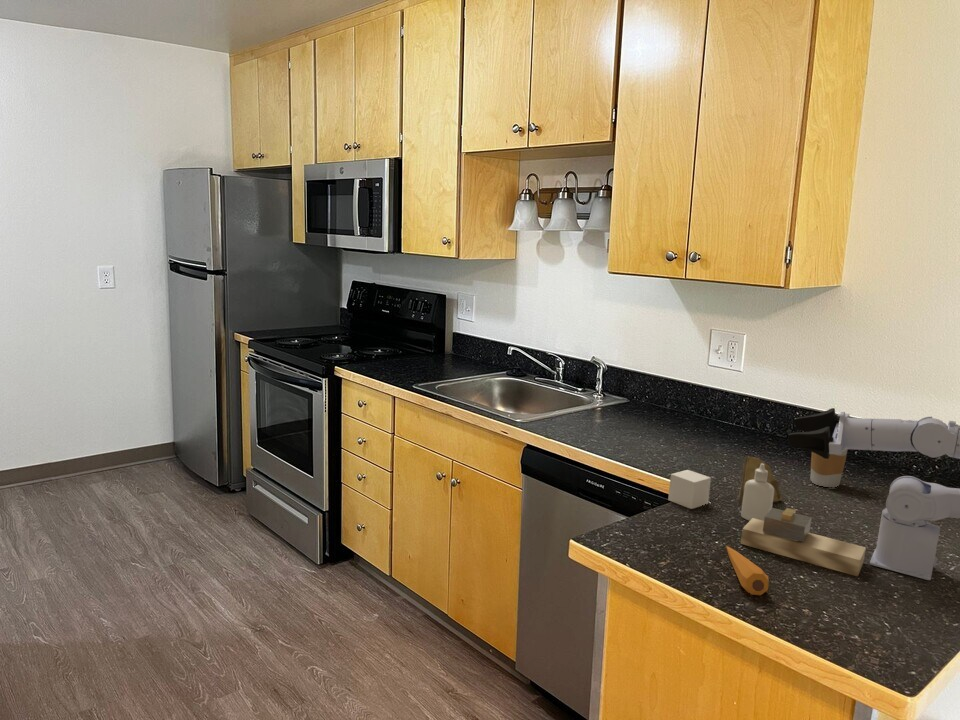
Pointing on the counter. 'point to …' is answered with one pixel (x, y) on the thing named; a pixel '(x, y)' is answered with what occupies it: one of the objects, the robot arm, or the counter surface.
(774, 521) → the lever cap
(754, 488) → the eye dropper bottle
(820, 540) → the body
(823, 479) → the coffee cup
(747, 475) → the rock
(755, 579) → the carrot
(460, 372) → the counter surface
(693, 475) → the white cube
